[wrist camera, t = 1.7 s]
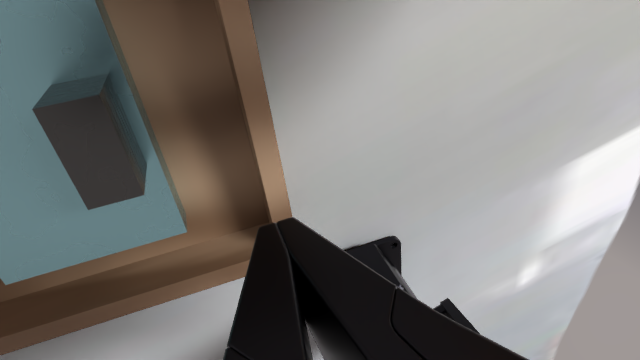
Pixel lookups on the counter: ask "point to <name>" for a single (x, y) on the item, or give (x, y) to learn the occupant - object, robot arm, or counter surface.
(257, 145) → the walnut box
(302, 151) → the counter surface
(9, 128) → the cover plate
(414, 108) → the counter surface
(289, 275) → the robot arm
